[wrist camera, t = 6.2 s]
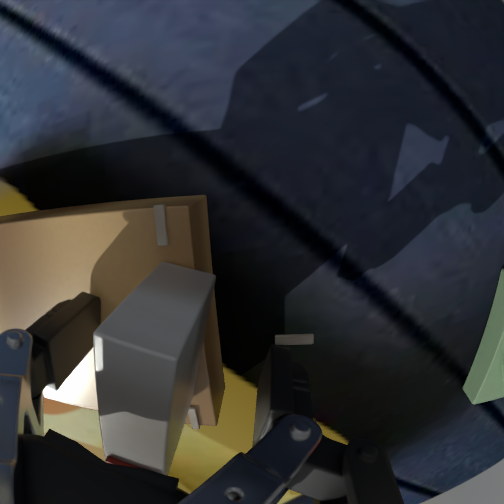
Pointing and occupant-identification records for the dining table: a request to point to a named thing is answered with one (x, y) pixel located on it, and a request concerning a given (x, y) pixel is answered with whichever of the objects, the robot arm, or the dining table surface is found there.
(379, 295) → the dining table surface
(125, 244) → the panel
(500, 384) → the button box
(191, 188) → the dining table surface
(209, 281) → the tap lever
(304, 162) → the dining table surface
